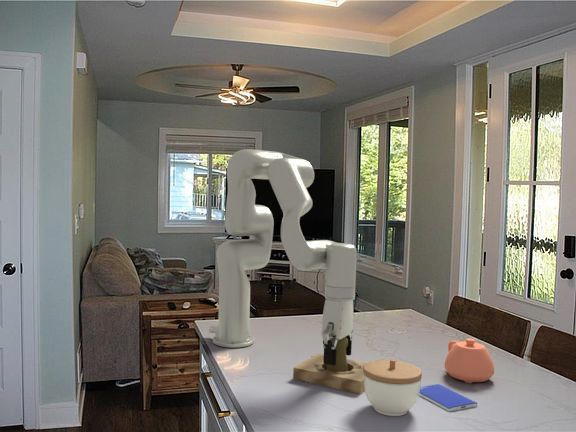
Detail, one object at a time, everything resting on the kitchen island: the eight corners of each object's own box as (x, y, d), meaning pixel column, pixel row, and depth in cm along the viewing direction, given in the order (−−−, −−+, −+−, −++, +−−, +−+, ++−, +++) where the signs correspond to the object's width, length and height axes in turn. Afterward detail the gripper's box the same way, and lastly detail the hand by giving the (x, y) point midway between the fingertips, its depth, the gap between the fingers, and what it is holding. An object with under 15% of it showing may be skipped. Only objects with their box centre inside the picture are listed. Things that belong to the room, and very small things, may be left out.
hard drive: (413, 387, 132) (449, 407, 121) (440, 383, 135) (477, 401, 124) (413, 394, 132) (449, 414, 121) (439, 389, 136) (477, 408, 124)
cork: (351, 375, 142) (352, 333, 142) (345, 383, 137) (346, 339, 136) (328, 372, 144) (329, 330, 144) (321, 379, 139) (323, 336, 138)
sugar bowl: (469, 389, 135) (470, 348, 135) (429, 371, 148) (431, 334, 147) (504, 382, 141) (506, 343, 140) (463, 366, 153) (465, 329, 153)
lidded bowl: (408, 426, 112) (410, 373, 112) (352, 412, 119) (354, 361, 118) (427, 407, 123) (430, 358, 122) (375, 394, 130) (377, 348, 129)
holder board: (293, 379, 138) (293, 367, 138) (317, 364, 150) (317, 353, 150) (360, 393, 130) (360, 381, 129) (380, 377, 142) (380, 365, 142)
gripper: (339, 286, 148) (337, 348, 149) (311, 296, 133) (309, 365, 134) (366, 289, 145) (363, 353, 146) (340, 300, 130) (337, 371, 130)
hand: (337, 359), depth 140 cm, fingers open, 9 cm apart
